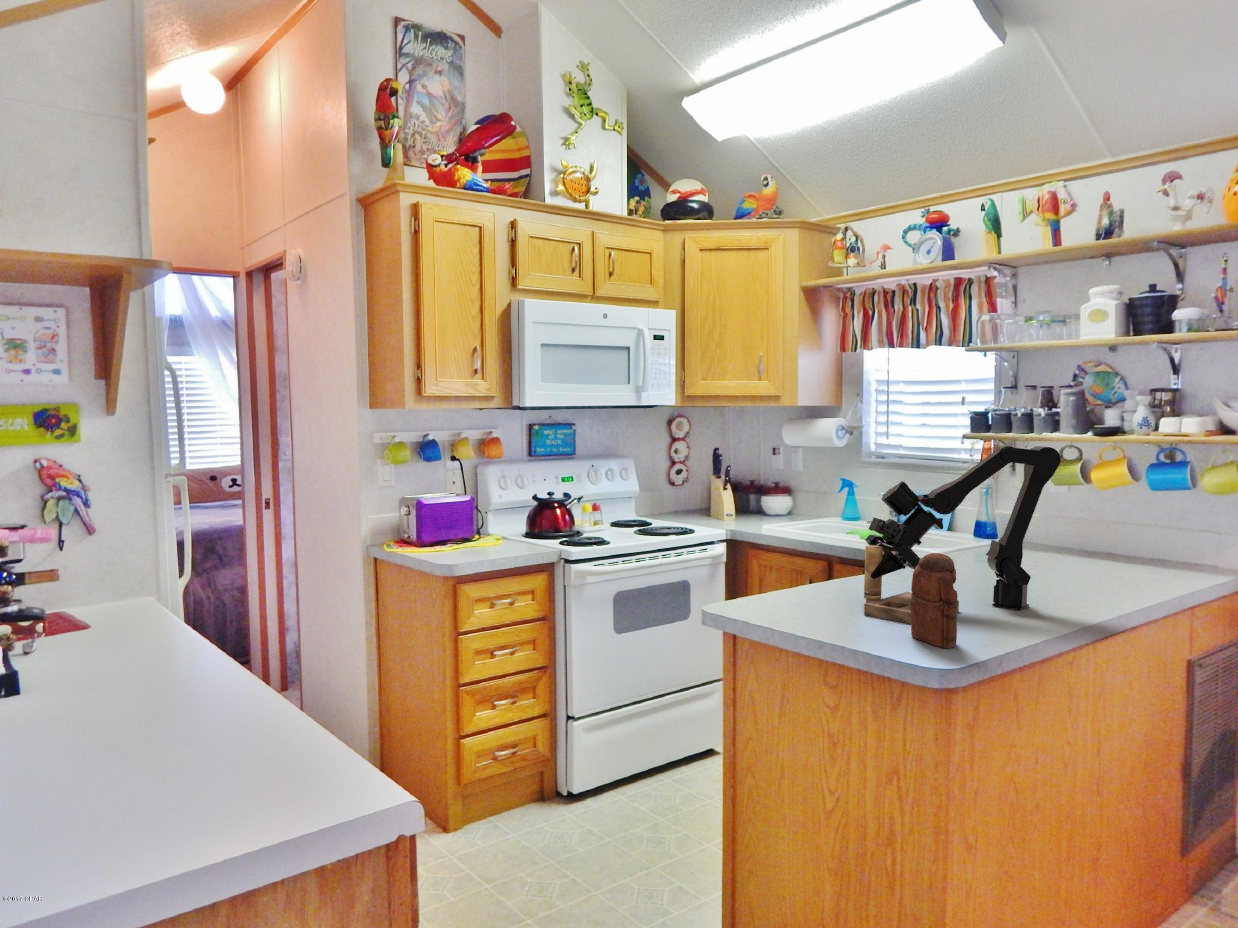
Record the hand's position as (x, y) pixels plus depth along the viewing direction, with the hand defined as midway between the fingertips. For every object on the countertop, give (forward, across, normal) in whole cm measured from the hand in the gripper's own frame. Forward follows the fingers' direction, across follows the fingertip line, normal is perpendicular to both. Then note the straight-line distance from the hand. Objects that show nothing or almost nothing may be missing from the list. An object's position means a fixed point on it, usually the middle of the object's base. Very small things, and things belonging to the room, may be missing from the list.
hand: (867, 575), depth 207 cm
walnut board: (0, +9, +10) cm, 13 cm away
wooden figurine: (+6, +33, +5) cm, 34 cm away
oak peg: (+4, 0, +6) cm, 7 cm away
